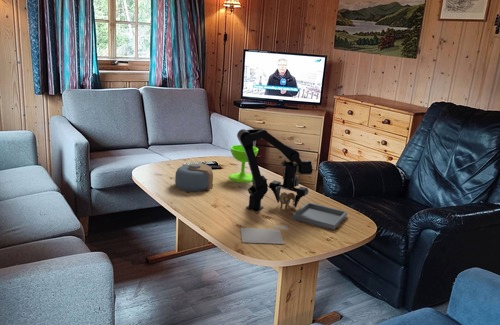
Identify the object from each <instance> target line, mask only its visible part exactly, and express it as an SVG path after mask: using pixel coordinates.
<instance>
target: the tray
mask: <svg viewBox="0 0 500 325" xmlns="http://www.w3.org/2000/svg"><path fill="white" fill-rule="evenodd" d="M291 215H292V216H291V220H293V221H297V222H301V223H304V224H308V225H312V226H316V227H319V228H324V229H326V228H327V230H330V229H331V231H335V230H336V229H337V228H338V227H339V226H340V224H341V223H342V222H344V220H346V218H347V217H346V216H348V211H345V210H341V209H337V208H333V207H329V206H325V205H321V204H319V203H312V202H310V201H307V203H304V205H303V206H301V207H299V209H297V210H296V211H294V212H293V213H292V214H291ZM337 226H338V227H337ZM336 227H337V228H336ZM335 228H336V229H335ZM334 229H335V230H334Z"/></svg>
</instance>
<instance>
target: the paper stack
mask: <svg viewBox="0 0 500 325" xmlns="http://www.w3.org/2000/svg"><path fill="white" fill-rule="evenodd" d="M274 227H275V228H256V227H255V228H253V227H252V228H251V227H240V233H241V241H242V243H249V244H251V243H252V244H254V243H256V244H279V245H280V244H281V245H284V239H283V237H282V233H281V231H280V229H282V230H285V231H289V229H288V226H287V225H285V226H284V225H274Z"/></svg>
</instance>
